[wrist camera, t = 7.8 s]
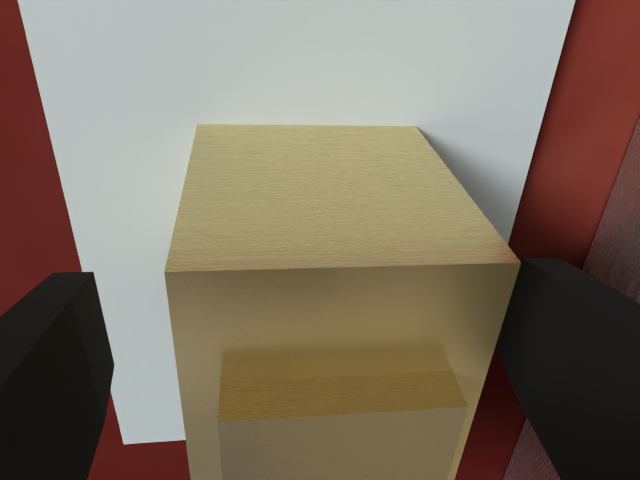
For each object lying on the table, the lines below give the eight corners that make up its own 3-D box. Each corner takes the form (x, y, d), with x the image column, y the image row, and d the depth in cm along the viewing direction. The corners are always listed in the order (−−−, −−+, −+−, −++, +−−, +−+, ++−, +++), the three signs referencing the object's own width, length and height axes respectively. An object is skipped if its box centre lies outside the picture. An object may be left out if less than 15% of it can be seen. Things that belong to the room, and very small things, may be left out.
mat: (451, 403, 15) (458, 420, 15) (127, 424, 14) (123, 444, 14) (578, -86, 9) (598, -85, 8) (6, -117, 8) (-11, -119, 7)
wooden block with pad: (384, 328, 12) (457, 548, 8) (212, 336, 12) (194, 574, 8) (415, 126, 10) (546, 294, 6) (197, 124, 9) (155, 307, 5)
